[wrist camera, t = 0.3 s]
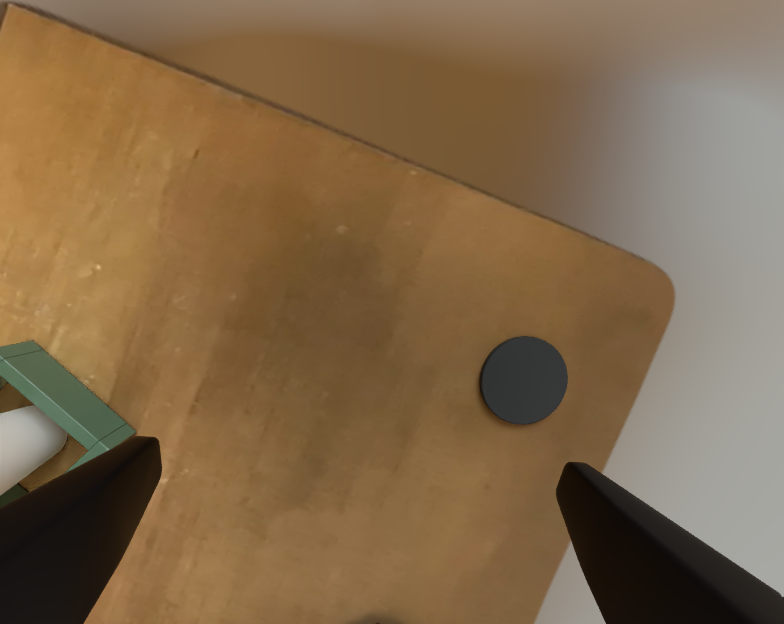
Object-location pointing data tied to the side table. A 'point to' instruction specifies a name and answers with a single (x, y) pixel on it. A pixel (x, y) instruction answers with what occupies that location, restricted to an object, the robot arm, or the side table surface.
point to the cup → (26, 443)
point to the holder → (60, 403)
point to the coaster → (523, 380)
